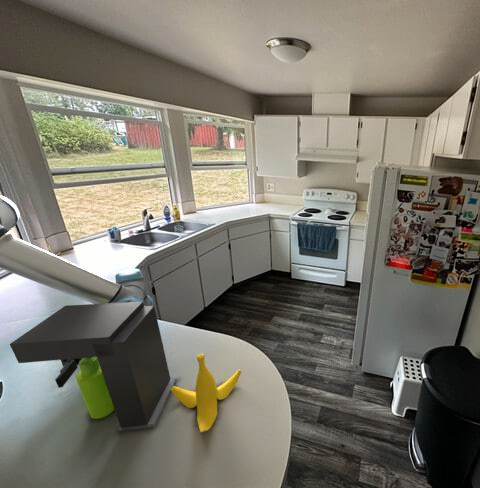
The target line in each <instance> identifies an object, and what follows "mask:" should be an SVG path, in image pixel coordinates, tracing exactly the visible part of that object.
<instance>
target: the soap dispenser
mask: <svg viewBox="0 0 480 488" xmlns="http://www.w3.org/2000/svg"><path fill="white" fill-rule="evenodd" d="M78 368H79V369H80V371H78V372H77V374H76V376H75V380H76V383H77V385H78V388H79V391H80V393H81V395H82V396H81V397H82V398H83V401H84V404H85V407H86V408H87V411H88V414H89V417H90V418H91V419H93V420H98V419H102V418H105V417H107V416H109V415H111V413H113V412H115V409H114V406H113V403H112V400H111V397H110V394H109V391H108V388H107V385H106V383H105V380H104V377H103V374H102V371H101V368H100V365H99V362H98V359H97V357H89V358H82V360H81V361H80V362H79V364H78Z"/></svg>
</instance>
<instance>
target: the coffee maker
mask: <svg viewBox="0 0 480 488" xmlns="http://www.w3.org/2000/svg"><path fill="white" fill-rule="evenodd" d="M162 339H163V338H162V335H161V330H160V326H159V321H158V317H157V313H156V308H155V305H153V306H144V304H143V302H126V303H106V304H93V303H88V304H87V303H86V304H70V305H69V304H68V305H64V306H62V307H61V308H60V309H58V310H57V311H56V312H54V313H52V314H51V315H50V316H48V317H47V318H45V319H44V320H42V321H41V322H39V323H38V324H36V325H35V326H33V327H32V328H31V329H29V330H28V331H26V332H25V333H24V334H22V335H21V336H19V337H18V338H16V339H15V340H14V341H12V342H10V343H9V345H10V348H11V350H12V353H13V354H14V356H15V359H16V361H17V363H18V364H27V363H39V362H50V361H52V362H53V361H61V360H65V359H77V358H89V357H97V359H98V362H99V365H100V368H101V371H102V374H103V377H104V380H105V383H106V385H107V388H108V391H109V394H110V397H111V400H112V403H113V406H114V409H115V410H114V412H115V415H116V418H117V420H118V424H119V427H118V431H119V432H125V431H134V430H141V429H148V428H150V429H151V428H155V427H156V425H157V423H158V421H159V419H160V416H161V414H162V412H163V410H164V408H165V406H166V404H167V402H168V400H169V397H170V395H171V393H172V391H171V388H172V387H173V386H176V383H177V378H176V377H172V378H171V374H170V370H169V366H168V362H167V361H168V360H167V357H166V353H165V348H164V343H163V340H162Z"/></svg>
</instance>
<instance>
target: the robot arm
mask: <svg viewBox="0 0 480 488" xmlns="http://www.w3.org/2000/svg"><path fill="white" fill-rule="evenodd" d="M20 213H21V212H20V210H19V208H18V207H17V205H16V204H15V203H14V201H12V200H11V199H9V198H8V197H6V196H5V195H2V194H0V269H1V270H4V271H6V272H9V273H12V274H14V275H17V276H20V277H22V278H25V279H28V280H30V281H32V282H36V283H38V284H40V285H43V286H46V287H48V288H51V289H53V290H56V291H59V292H62V293H64V294H67V295H70V296H72V297H75V298H77V299H80V300H82V301H85V302H87V303H89V304H106V303H126V302H143V304H144V306H154V299H153V298H152V297H151V296H150V295H148V293H147V290H146V284H145V279H144V276H143V273H142V271H141V269H139V268H127V269H123V270H120V271H118V272H117V273H116V274H115V276H114V277H115V281H113V280H110V279H108V278H106V277H104V276H102V275H99V274H97V273H95V272H93V271H91V270H89V269H86V268H85V267H82V266H80V265H78V264H75V263H73V262H71V261H68V260H67V259H64V258H62V257H61V256H58V255H56V254H54V253H51V252H49V251H47V250H45V249H42V248H40V247H38V246H36V245H34V244H31V243H29V242H27V241H25V240H23V239H20V238H19V237H17V236H16V235H15V232H14V231H13V230H11V229H13V228H14V227H15V226H16V225H17V224H18V222H19V221H20V218H21V214H20ZM81 360H82V358H77V359H65V360H60V362H61V364H62V367H61V369H60V371H59V372H60V373H59V374H58V375H57V377H56V378H55V380H54V381H55V384H56V386H57V388H58V389H61V388H64V386H65V384H66V383H68V381H69V379H70V378H71V377H72V376H73V374H75V372H76V370H77V369H78V368H79V362H80V361H81Z"/></svg>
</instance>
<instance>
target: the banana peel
mask: <svg viewBox="0 0 480 488" xmlns="http://www.w3.org/2000/svg"><path fill="white" fill-rule="evenodd" d="M196 360H197V363H198V372H197V376H196V381H195V391H194V390H188V389H185V388H181V387H178V386H176V385H174V386H173V387H172V388H171V393H172V394H173V395H174V396H175V398H176V399H178V400H179V401H180V403H181V404H183V405H184V406H186V408H188V409H193V408H195V407H197V408H196V409H197V410H196V411H197V412H196V414H197V415H196V416H197V417H196V421H197V425H198V428H199V431H200V433H204V432H207V431H208V430H210V429H211V428H212V426H213V424H214V423H215V421H216V419H217V416H218V401H219V400H224V399H226V398H228V397H229V395H230V393H231V392H232V391H233V389H234V388H235V386H236V384H237V383H238V381H239V379H240V376H241V374H242V370H241V369H237V371H236V372H235V373H234V374H232V376H231V377H230V378H228V379H227V380H226V381H225V382H223V383H222V384H221V385H219V386H218V387H217V383H216V380H215V378H214V375H213V373H212V372H211V371H210V370H209V368H208V367H207V365H206V362H205V354H204V353H199V354H197V355H196Z"/></svg>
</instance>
